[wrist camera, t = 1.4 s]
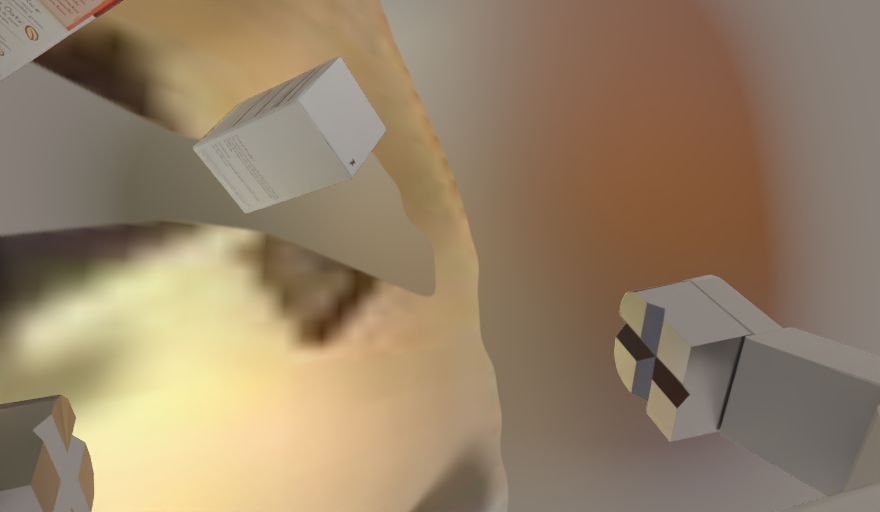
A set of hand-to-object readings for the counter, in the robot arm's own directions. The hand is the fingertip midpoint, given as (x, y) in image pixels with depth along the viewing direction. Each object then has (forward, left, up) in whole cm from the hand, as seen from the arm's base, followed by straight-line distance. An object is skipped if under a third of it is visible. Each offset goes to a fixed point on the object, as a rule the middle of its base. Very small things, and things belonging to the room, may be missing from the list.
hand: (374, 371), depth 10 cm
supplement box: (+25, +26, -39) cm, 53 cm away
